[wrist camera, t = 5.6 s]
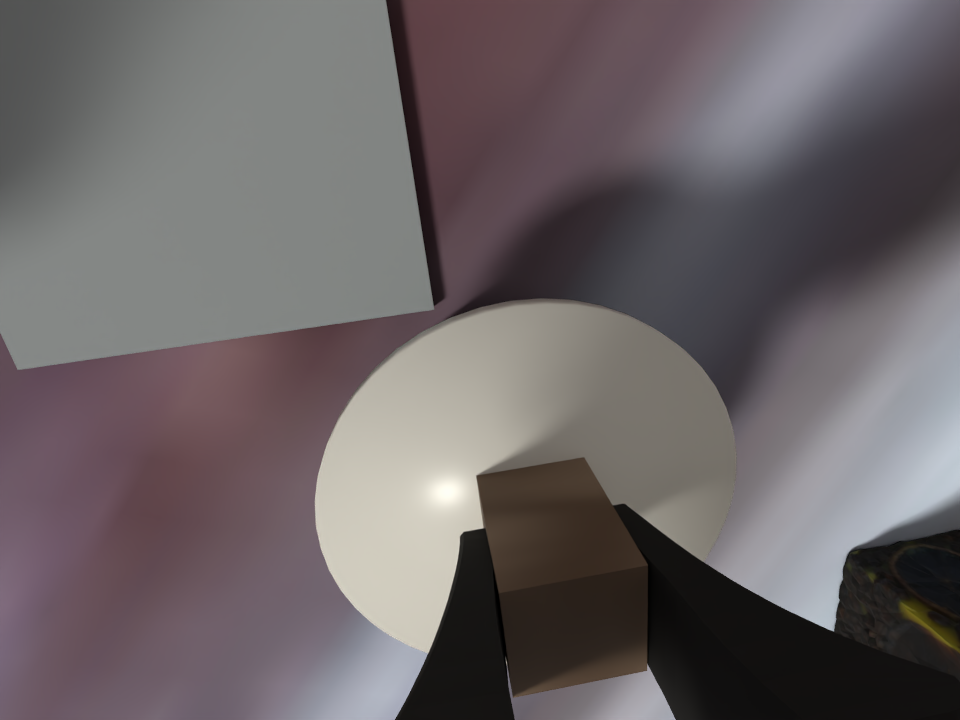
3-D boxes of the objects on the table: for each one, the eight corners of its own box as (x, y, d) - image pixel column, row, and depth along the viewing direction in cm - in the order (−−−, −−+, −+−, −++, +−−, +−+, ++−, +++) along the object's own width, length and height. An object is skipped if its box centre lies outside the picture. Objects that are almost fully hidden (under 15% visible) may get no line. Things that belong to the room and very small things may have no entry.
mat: (29, 364, 17) (17, 369, 16) (-214, -162, 12) (-239, -177, 12) (433, 306, 18) (434, 309, 17) (354, -203, 13) (351, -218, 13)
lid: (366, 678, 16) (348, 859, 12) (267, 336, 12) (181, 426, 8) (712, 610, 17) (812, 757, 13) (738, 267, 13) (904, 314, 8)
